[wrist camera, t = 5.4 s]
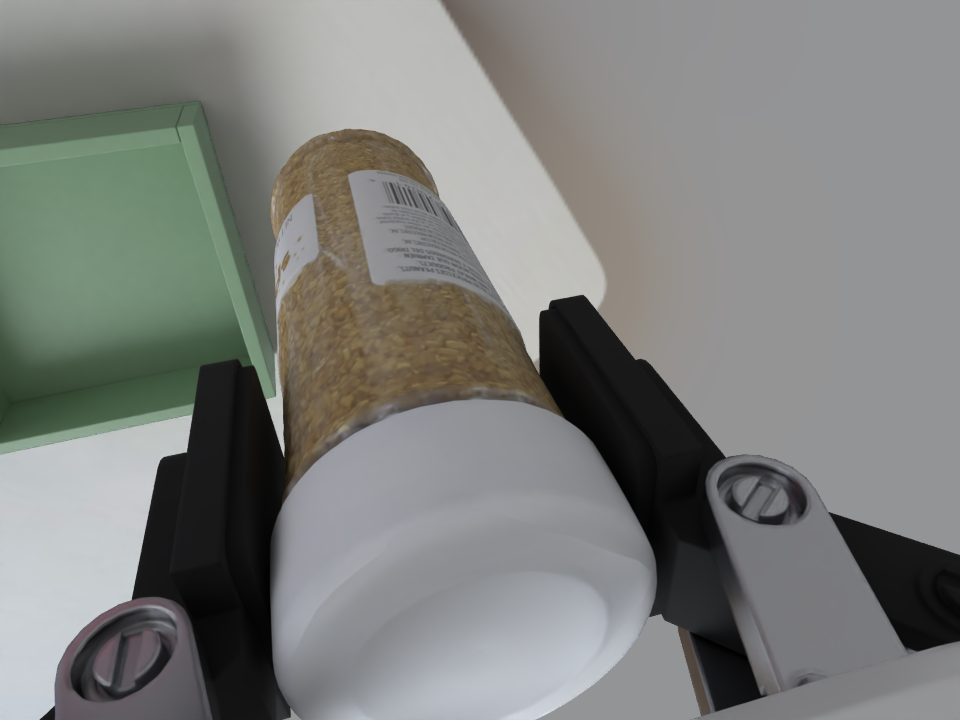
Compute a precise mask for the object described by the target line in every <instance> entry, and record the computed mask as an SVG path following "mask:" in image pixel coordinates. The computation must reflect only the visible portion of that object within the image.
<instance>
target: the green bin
mask: <svg viewBox="0 0 960 720" xmlns="http://www.w3.org/2000/svg"><path fill="white" fill-rule="evenodd" d="M233 359H238V360H239V361H240V362H241V364H242V367H245V366H250V365H254V367H255V369H256V371H257V374H258V377H259V380H260V384H261V387H262V390H263V393H264V396H265V399H268V398H273V397H276V382H275V361H274V360H275V359H274V353H273V349H272V346H271V342H270V339H269V335H268V332H267V328H266V325H265V322H264V318H263V315H262V311H261V308H260V304H259V301H258V297H257V294H256V291H255V287H254V284H253V280H252V277H251V273H250V270H249V267H248V263H247V260H246V256H245V253H244V249H243V246H242V242H241V239H240V236H239V232H238V229H237V225H236V222H235V218H234V215H233V211H232V208H231V205H230V201H229V198H228V194H227V191H226V187H225V184H224V180H223V177H222V174H221V170H220V167H219V163H218V160H217V156H216V153H215V149H214V146H213V143H212V139H211V136H210V132H209V129H208V125H207V122H206V118H205V115H204V112H203V108H202V105H201V102H200V101H195V102H187V103H178V104H170V105H162V106H154V107H146V108H138V109H130V110H122V111H114V112H106V113H97V114H89V115H81V116H73V117H65V118H57V119H49V120H41V121H33V122H25V123H16V124H8V125H0V454H5V453H10V452H15V451H19V450H24V449H29V448H34V447H39V446H43V445H48V444H53V443H58V442H63V441H67V440H72V439H77V438H82V437H86V436H91V435H96V434H101V433H106V432H110V431H115V430H120V429H125V428H129V427H134V426H139V425H144V424H149V423H153V422H158V421H163V420H168V419H172V418H177V417H182V416H187V415H192V414H193V409H194V403H195V396H196V390H197V383H198V376H199V370H200V367H201V366H202V365H206V364H211V363H217V362H222V361H228V360H233Z"/></svg>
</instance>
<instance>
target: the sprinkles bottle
mask: <svg viewBox="0 0 960 720" xmlns="http://www.w3.org/2000/svg"><path fill="white" fill-rule="evenodd" d="M270 213H271V222H272V227H273V232H274V236H275V238H276V241H277V243H276V248H275V258H274V268H275V289H276V321H277V348H278V370H279V380H280V385H281V391H282V396H283V424H284V433H283V435H284V445H285V451H284V467H285V479H286V482H285V490H284V493H283V497H282V508H281V510H280V512H279V514H278V516H277V519H276V522H275V525H274V528H273V532H272V537H271V543H270V606H271V630H272V653H273V666H274V673H275V677H276V680H277V683H278V686H279V689H280V690H281V692H282V694H283V696H284V698H285V700H286V702H287V703H288V705H289V706H290V707H291V709H292V710H293V711H294V712H295V713H296V715H297V716H298V717H299V718H301V720H536V719H538V718H540V717H542V716H544V715H546V714H548V713H550V712H552V711H553V710H555V709H557V708H558V707H560V706H561V705H563V704H565V703H567V702H568V701H570V700H572V699H573V698H575V697H576V696H578V695H579V694H581V693H582V692H584V691H585V690H586V689H588V688H589V687H591V686H592V685H593V684H595V683H596V682H597V681H598V680H599V679H600V678H601V677H603V676H604V675H605V674H606V673H607V672H608V671H609V670H611V668H613V667H614V665H616V664H617V663H618V661H619V660H620V659H621V658H622V657H623V656H624V655H625V653H626V652H627V651H628V650H629V648H630V647H631V645H632V644H633V643H634V642H635V640H636V639H637V637H638V636H639V635H640V633H641V631H642V629H643V627H644V625H645V623H646V622H647V620H648V618H649V615H650V613H651V610H652V606H653V603H654V600H655V595H656V587H657V572H656V561H655V557H654V553H653V550H652V548H651V546H650V543H649V541H648V539H647V537H646V535H645V533H644V531H643V529H642V527H641V525H640V523H639V521H638V519H637V517H636V516H635V514H634V512H633V510H632V508H631V506H630V504H629V502H628V501H627V499H626V497H625V495H624V494H623V492H622V490H621V488H620V486H619V485H618V483H617V481H616V479H615V478H614V476H613V474H612V472H611V471H610V469H609V467H608V466H607V464H606V462H605V461H604V459H603V458H602V456H601V454H600V453H599V451H598V450H597V448H596V447H595V445H594V443H593V442H592V441H591V440H590V439H589V438H588V437H587V436H586V435H585V434H584V433H583V432H582V431H581V430H579V429H578V428H577V427H575V426H574V425H573V424H571V423H570V422H568V421H567V420H565V418H564V416H563V414H562V412H561V411H560V409H559V408H558V406H557V404H556V403H555V401H554V399H553V397H552V396H551V394H550V392H549V391H548V389H547V387H546V386H545V384H544V382H543V380H542V378H541V377H540V375H539V374H538V372H537V370H536V368H535V366H534V364H533V362H532V360H531V358H530V357H529V355H528V353H527V351H526V348H525V344H524V341H523V338H522V335H521V333H520V331H519V329H518V327H517V326H516V324H515V322H514V320H513V319H512V317H511V315H510V314H509V312H508V310H507V309H506V307H505V305H504V303H503V302H502V300H501V298H500V297H499V295H498V293H497V292H496V290H495V288H494V286H493V285H492V283H491V281H490V280H489V278H488V276H487V274H486V273H485V271H484V269H483V268H482V266H481V264H480V262H479V261H478V259H477V257H476V255H475V254H474V252H473V250H472V249H471V247H470V245H469V243H468V242H467V240H466V238H465V237H464V235H463V233H462V231H461V230H460V228H459V226H458V225H457V223H456V221H455V220H454V218H453V216H452V214H451V213H450V211H449V210H448V208H447V207H446V206H445V204H444V203H443V202H442V201H441V200H440V198H439V194H438V190H437V187H436V185H435V182H434V180H433V177H432V175H431V173H430V172H429V171H428V169H427V168H426V167H425V165H424V163H423V162H422V161H421V159H420V158H419V157H417V156H416V155H415V154H414V152H413V151H412V150H411V149H410V148H409V147H408V146H406V145H405V144H403V143H402V142H400V141H398V140H395V139H393V138H391V137H389V136H387V135H385V134H382V133H379V132H376V131H369V130H361V129H344V130H341V131H336V132H331V133H327V134H322V135H319V136H316V137H314V138H312V139H311V140H309V141H308V142H307V143H305V144H304V145H303V146H301V147H300V148H299V149H298V150H297V151H296V152H295V153H294V154H293V155H292V156H291V157H290V158H289V160H288V161H287V163H286V165H285V166H284V167H283V168H282V170H281V172H280V174H279V176H278V177H277V179H276V181H275V184H274V187H273V191H272V196H271V208H270Z"/></svg>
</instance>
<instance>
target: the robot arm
mask: <svg viewBox="0 0 960 720" xmlns="http://www.w3.org/2000/svg"><path fill="white" fill-rule="evenodd" d="M539 359H540V377H541V378H542V380H543V382H544V384H545V386H546V387H547V389H548V391H549V392H550V394H551V396H552V397H553V399H554V401H555V403H556V404H557V406H558V408H559V409H560V411H561V412H562V414H563V416H564V418H565V420H567V421H568V422H570V423H571V424H573V425H574V426H575V427H577V428H578V429H579V430H581V431H582V432H583V433H584V434H585V435H586V436H587V437H588V438H589V439H590V440H591V441H592V442H593V443H594V445H595V447H596V448H597V450H598V451H599V453H600V454H601V456H602V458H603V459H604V461H605V462H606V464H607V466H608V467H609V469H610V471H611V472H612V474H613V476H614V478H615V479H616V481H617V483H618V485H619V486H620V488H621V490H622V492H623V494H624V495H625V497H626V499H627V501H628V502H629V504H630V506H631V508H632V510H633V512H634V514H635V516H636V517H637V519H638V521H639V523H640V525H641V527H642V529H643V531H644V533H645V535H646V537H647V539H648V541H649V543H650V546H651V548H652V550H653V553H654V557H655V561H656V572H657V587H656V595H655V600H654V603H653V606H652V610H651V613H650V615H649V617H651V616H655V615H659V614H662V616H663V618H664V620H665V621H667V622H670V623H672V624H674V625H676V626H678V632H679V636H680V640H681V643H682V647H683V650H684V654H685V658H686V662H687V666H688V669H689V673H690V677H691V680H692V684H693V688H694V691H695V695H696V699H697V702H698V706H699V710H700V714H701V717H698V718H694V719H691V720H960V555H958V554H955V553H952V552H949V551H946V550H943V549H940V548H937V547H934V546H931V545H928V544H925V543H921V542H918V541H915V540H912V539H909V538H906V537H903V536H900V535H897V534H894V533H891V532H888V531H885V530H882V529H879V528H876V527H873V526H869V525H867V524H864V523H860V522H858V521H855V520H851V519H848V518H845V517H842V516H839V515H836V514H833V513H830V512H828V511H827V509H826V507H825V505H824V503H823V502H822V500H821V498H820V496H819V495H818V493H817V491H816V489H815V488H814V487H813V486H812V484H811V483H810V482H809V480H808V479H807V478H806V477H805V476H803V475H802V474H801V473H799V472H798V471H797V470H796V469H794V468H793V467H791V466H789V465H787V464H785V463H783V462H781V461H778V460H776V459H772V458H768V457H764V456H760V455H744V454H743V455H737V456H731V457H727V458H726V457H725V456H724V455H723V453H722V452H721V451H720V450H719V448H718V447H717V446H716V445H715V444H714V442H713V441H712V440H711V439H710V437H709V436H708V435H707V434H706V432H705V431H704V430H703V429H702V427H701V426H700V425H699V424H698V422H697V421H696V420H695V419H694V418H693V417H692V415H691V414H690V413H689V411H688V410H687V409H686V408H685V407H684V405H683V404H682V403H681V402H680V400H679V399H678V398H677V397H676V395H675V394H674V393H673V392H672V390H671V389H670V388H669V387H668V385H667V384H666V383H665V382H664V381H663V379H662V378H661V377H660V376H659V374H658V373H657V372H656V371H655V370H654V368H653V367H652V366H651V365H650V364H649V363H648V362H647V361H646V360H643V359H638V360H635V359H634V358H633V356H632V355H631V354H630V353H629V351H628V350H627V349H626V347H625V346H624V345H623V343H622V342H621V341H620V340H619V338H618V337H617V336H616V335H615V333H614V332H613V331H612V330H611V328H610V327H609V326H608V324H607V323H606V322H605V321H604V319H603V318H602V317H601V315H599V313H598V312H597V310H596V309H595V308H594V307H593V305H592V304H591V303H590V302H589V300H588V299H587V298H586V297H585V296H584V295H579V296H574V297H568V298H563V299H557V300H552V301H551V302H550V304H549V310H544V311H541V312H540V317H539ZM285 482H286V479H285V467H284V456H283V453H282V450H281V447H280V444H279V440H278V437H277V434H276V431H275V428H274V425H273V421H272V418H271V415H270V412H269V409H268V406H267V403H266V399H265V396H264V393H263V390H262V387H261V384H260V380H259V377H258V374H257V371H256V369H255V367H254V365H250V366H245V367H242V364H241V362H240V361H239V360H238V359H233V360H228V361H222V362H217V363H211V364H206V365H202V366H201V367H200V370H199V376H198V383H197V390H196V396H195V403H194V409H193V416H192V423H191V429H190V436H189V443H188V449H187V452H186V453H181V454H176V455H172V456H167V457H163V458H162V459H161V460H160V463H159V466H158V469H157V474H156V479H155V485H154V490H153V495H152V500H151V505H150V510H149V515H148V520H147V525H146V530H145V535H144V540H143V545H142V550H141V555H140V560H139V565H138V570H137V575H136V580H135V586H134V591H133V596H132V600H131V601H128V602H125V603H122V604H119V605H117V606H115V607H113V608H112V609H110V610H108V611H106V612H104V613H102V614H101V615H99V616H98V617H97V618H95V619H94V620H93V621H92V622H91V623H89V624H88V625H87V626H86V627H84V628H83V629H82V630H81V631H80V632H79V634H78V635H77V636H76V637H75V638H74V640H73V641H72V642H71V643H70V644H69V646H68V647H67V649H66V651H65V653H64V655H63V657H62V659H61V660H60V662H59V664H58V668H57V673H56V679H55V706H54V707H53V708H52V709H51V710H50V711H49V712H48V713H47V714H45V715H44V716H43V717H42V718H41V719H40V720H283V719H286V718H290V717H291V712H290V706H289V705H288V703H287V702H286V700H285V698H284V696H283V694H282V692H281V690H280V689H279V686H278V683H277V680H276V677H275V673H274V666H273V653H272V630H271V606H270V543H271V537H272V532H273V528H274V525H275V522H276V519H277V516H278V514H279V512H280V510H281V508H282V497H283V493H284V490H285Z"/></svg>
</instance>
